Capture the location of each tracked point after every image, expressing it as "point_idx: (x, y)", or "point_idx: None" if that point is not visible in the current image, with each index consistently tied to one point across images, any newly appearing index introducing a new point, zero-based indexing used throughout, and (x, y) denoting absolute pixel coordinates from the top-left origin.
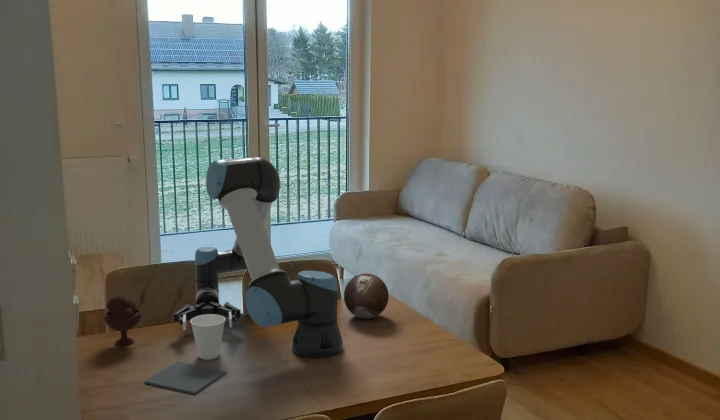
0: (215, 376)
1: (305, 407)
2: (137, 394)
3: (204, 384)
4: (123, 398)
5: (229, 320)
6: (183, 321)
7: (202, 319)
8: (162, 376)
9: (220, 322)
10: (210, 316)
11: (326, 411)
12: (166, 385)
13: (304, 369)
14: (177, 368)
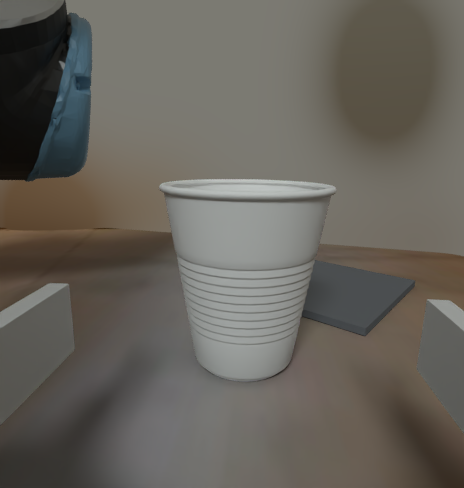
0: None
1: (117, 232)
2: (402, 268)
3: None
4: (425, 265)
5: (68, 297)
6: (445, 301)
7: (276, 218)
8: (376, 285)
9: (177, 224)
10: (227, 204)
11: (98, 228)
12: (348, 267)
13: (12, 272)
14: (347, 301)
